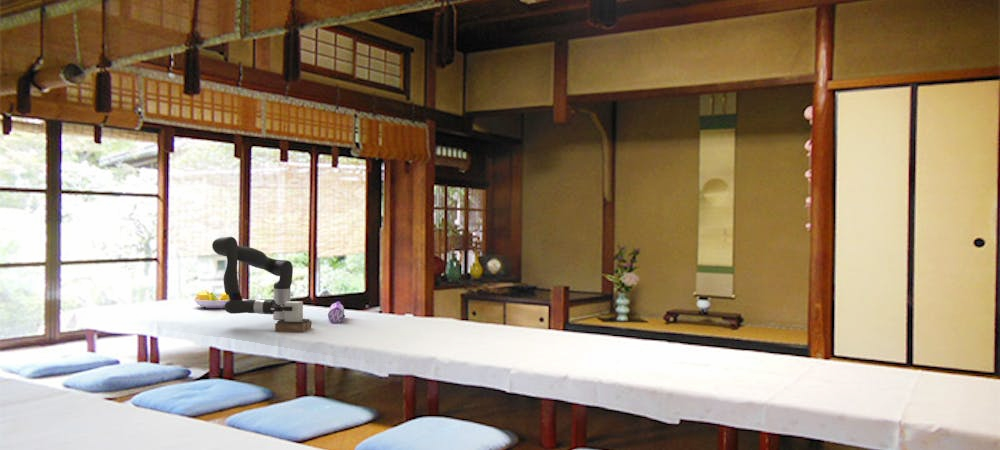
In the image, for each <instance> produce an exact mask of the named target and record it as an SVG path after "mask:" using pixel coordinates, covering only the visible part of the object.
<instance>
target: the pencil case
mask: <svg viewBox="0 0 1000 450" xmlns="http://www.w3.org/2000/svg"><path fill="white" fill-rule="evenodd" d="M327 317H328V321H329V322H330V323H332V324H340V323H341V322H343V320H344V319H345V317H346V315H345V308H344V305H343V304H342V303H341V301H336V302H334V303H331V305H330V306H329V310H328V312H327Z"/></svg>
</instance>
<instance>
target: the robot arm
mask: <svg viewBox="0 0 1000 450" xmlns="http://www.w3.org/2000/svg"><path fill="white" fill-rule="evenodd" d="M211 245H212V251H214V253H215V254H217V255H219V256H222V257H226V268H225V271H224V273H223V279H222V280H223V288H224V291H225V293H226V294H227V295H228V296H229V299H230V300H229V301H227V302H226V303H225V306H224V308H223V309H224V310H225V311H226V312H227V313H229V314H244V313H247V314H257V315H258V314H260V315H272V316H273V317H272V319H273V320H282V319H284V311H292V307H287V306H285V302H288V301H291V285H292V283H293V273H294V269H293V264H292V262H291V261H290V260H285V259H284V260H283V259H275V258H271V257H268V256H267V255H266V254H265V253H264V252H263V251H261V250H259V249H257V248H253V247H250V246H243V245H238V242H237V239H236V238H235V237H233V236H221V237H218V238H216V239H214V240H213V242H212V243H211ZM238 261H239V262H241V263H244V264H247V265H248V266H250V267H254V268H257V269H261V270H264V271H267V273H270V274H271V275H274V276H276V277H279V280H278V281H276V282H275V283H273V294H272V295H273V299H245V300H243V296H242V294H241V291H240V287H239V286H240V285H239V278H238Z"/></svg>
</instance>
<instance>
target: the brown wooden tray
mask: <svg viewBox="0 0 1000 450" xmlns="http://www.w3.org/2000/svg"><path fill="white" fill-rule="evenodd" d="M274 325H275V326H274V333H299V332H302V333H304V332H307V331H309V330H310V329H312V320H310V318H303V321H302V322H289V321H284V319H279V321H277V322H276V323H274Z"/></svg>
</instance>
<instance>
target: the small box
mask: <svg viewBox="0 0 1000 450" xmlns="http://www.w3.org/2000/svg"><path fill="white" fill-rule="evenodd" d="M285 306H287V307H292V311H284V321H289V322H302V321H303V319H304V317H303V316H304V310H303V309H304V301H297V300H295V301H294V300H293V301H292V300H290V301H288V302H285Z"/></svg>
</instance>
